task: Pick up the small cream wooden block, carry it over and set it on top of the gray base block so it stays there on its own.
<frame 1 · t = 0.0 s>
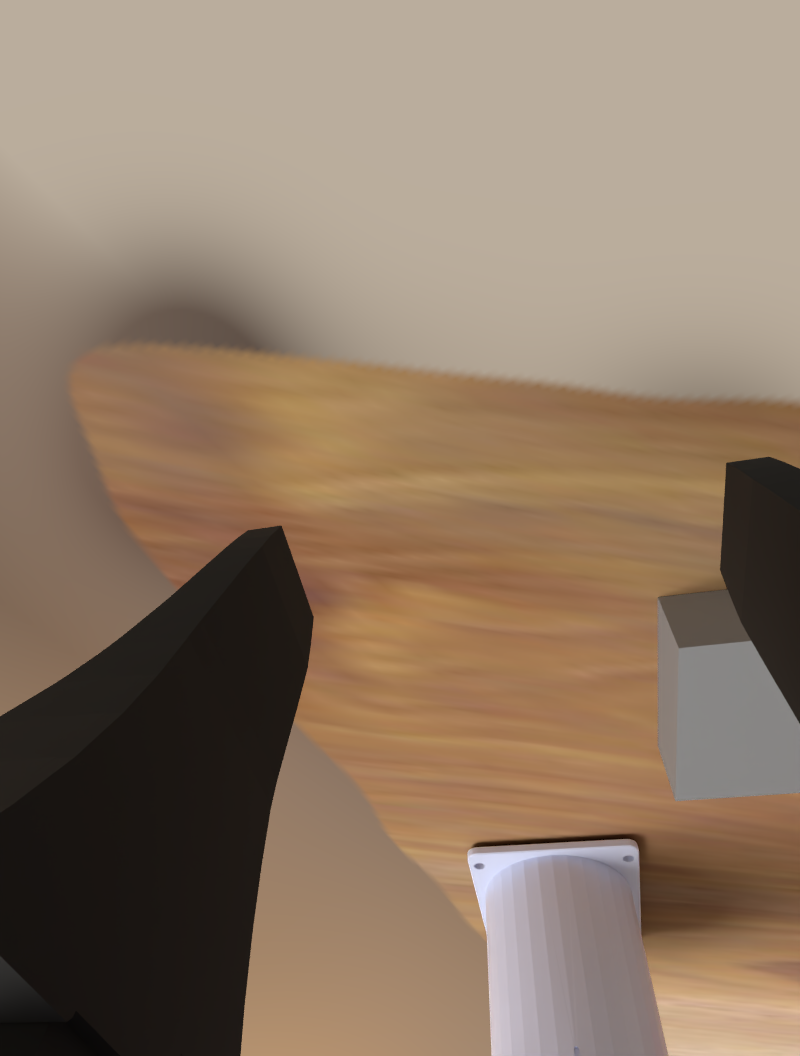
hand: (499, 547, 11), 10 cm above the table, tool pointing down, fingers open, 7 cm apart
gray base block: (763, 660, 26), on the table
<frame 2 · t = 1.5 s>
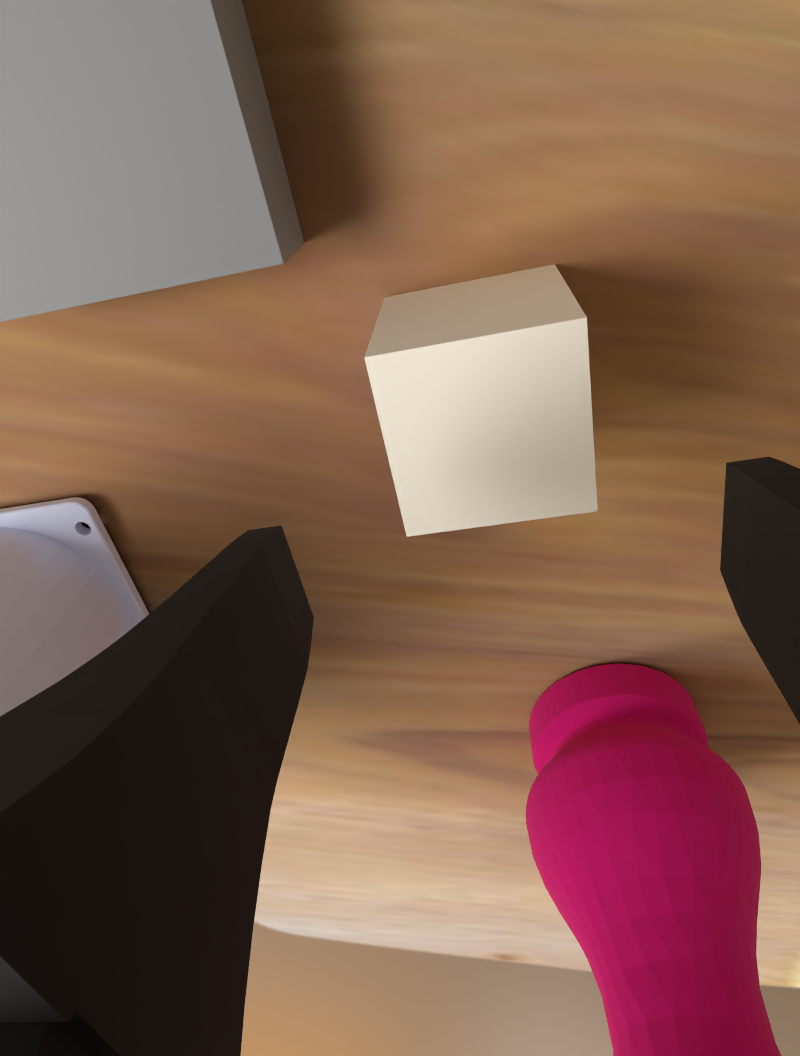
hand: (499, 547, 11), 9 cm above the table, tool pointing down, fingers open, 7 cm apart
pepper mill: (609, 716, 26), on the table
gray base block: (105, 99, 16), on the table
cream block: (479, 362, 19), on the table
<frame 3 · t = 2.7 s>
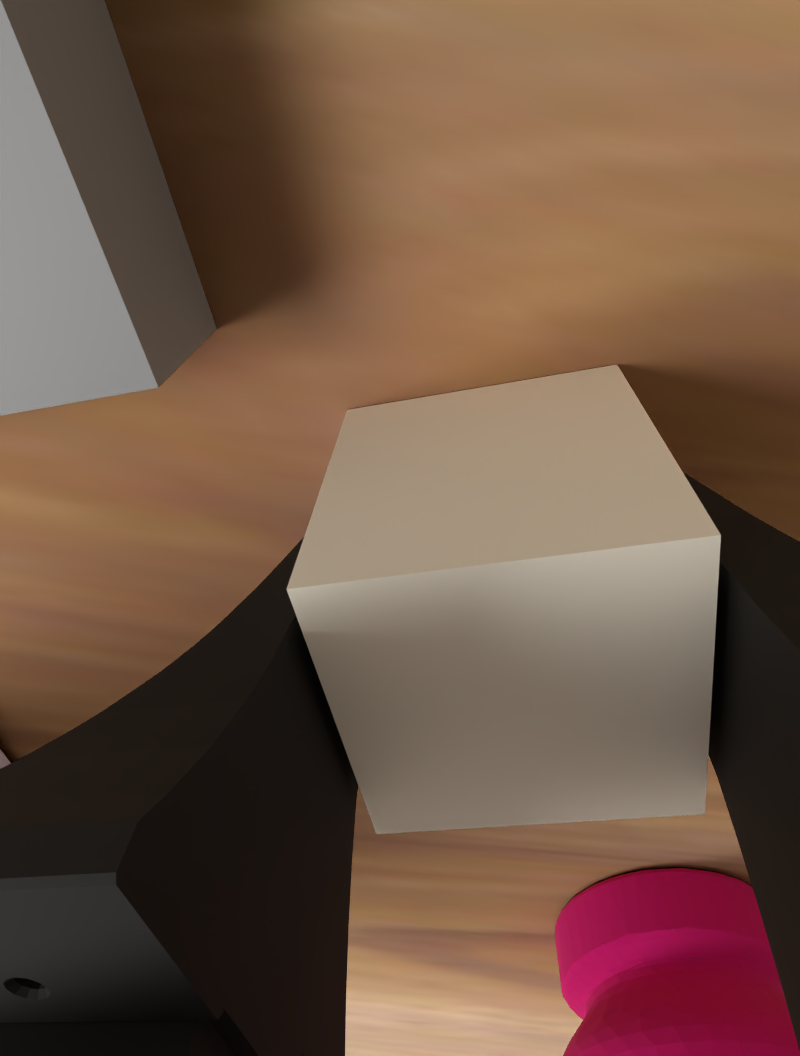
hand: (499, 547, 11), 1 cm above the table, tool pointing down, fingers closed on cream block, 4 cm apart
pepper mill: (661, 918, 20), on the table
cream block: (494, 503, 12), on the table, touching gripper
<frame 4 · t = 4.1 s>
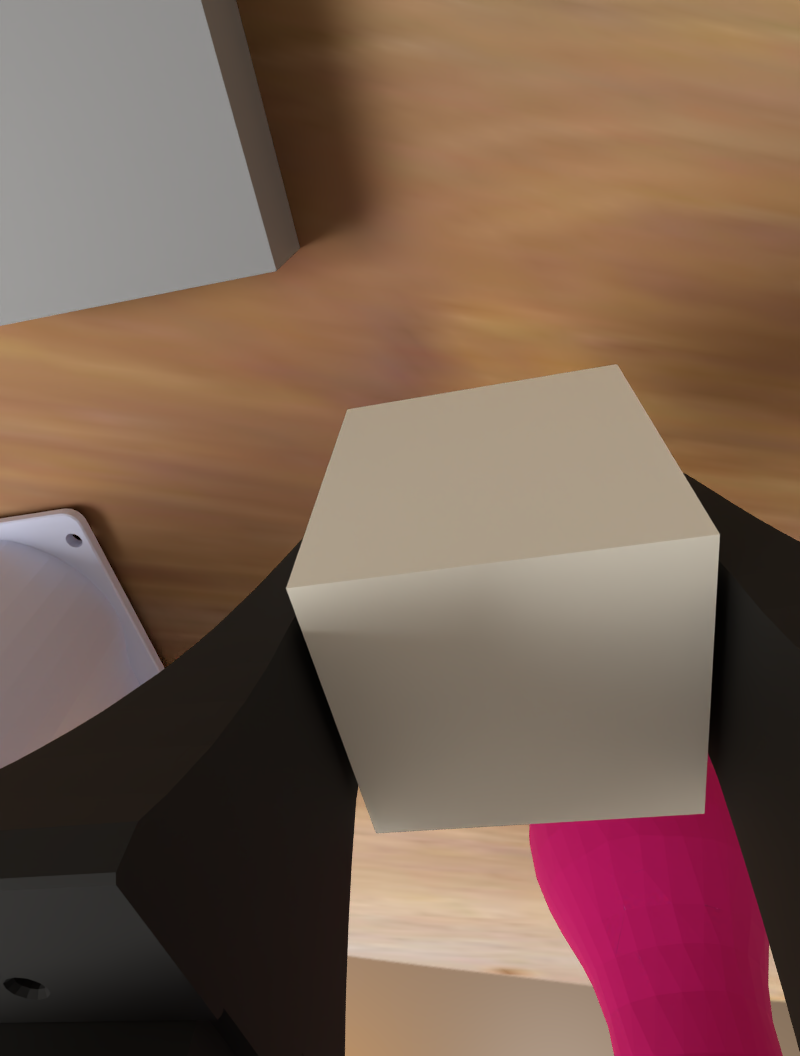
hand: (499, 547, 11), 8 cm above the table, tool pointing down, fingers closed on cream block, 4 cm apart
pepper mill: (614, 730, 26), on the table
gray base block: (93, 98, 16), on the table
cream block: (494, 502, 12), point 7 cm above the table, touching gripper
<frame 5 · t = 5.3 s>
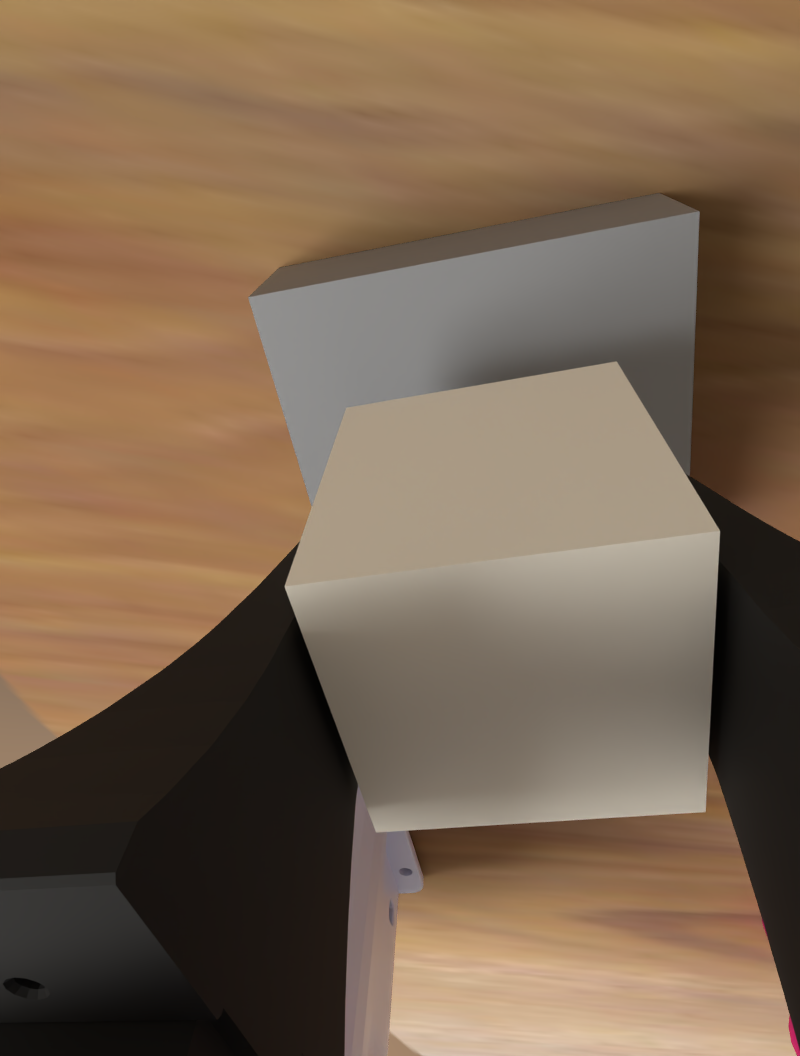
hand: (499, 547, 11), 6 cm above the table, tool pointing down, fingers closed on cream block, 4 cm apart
gray base block: (484, 402, 16), on the table
cream block: (494, 500, 12), point 4 cm above the table, touching gripper
when the fingers open (5 cm above the table, at t = 5.8 s): cream block drops 1 cm, resting on gray base block.
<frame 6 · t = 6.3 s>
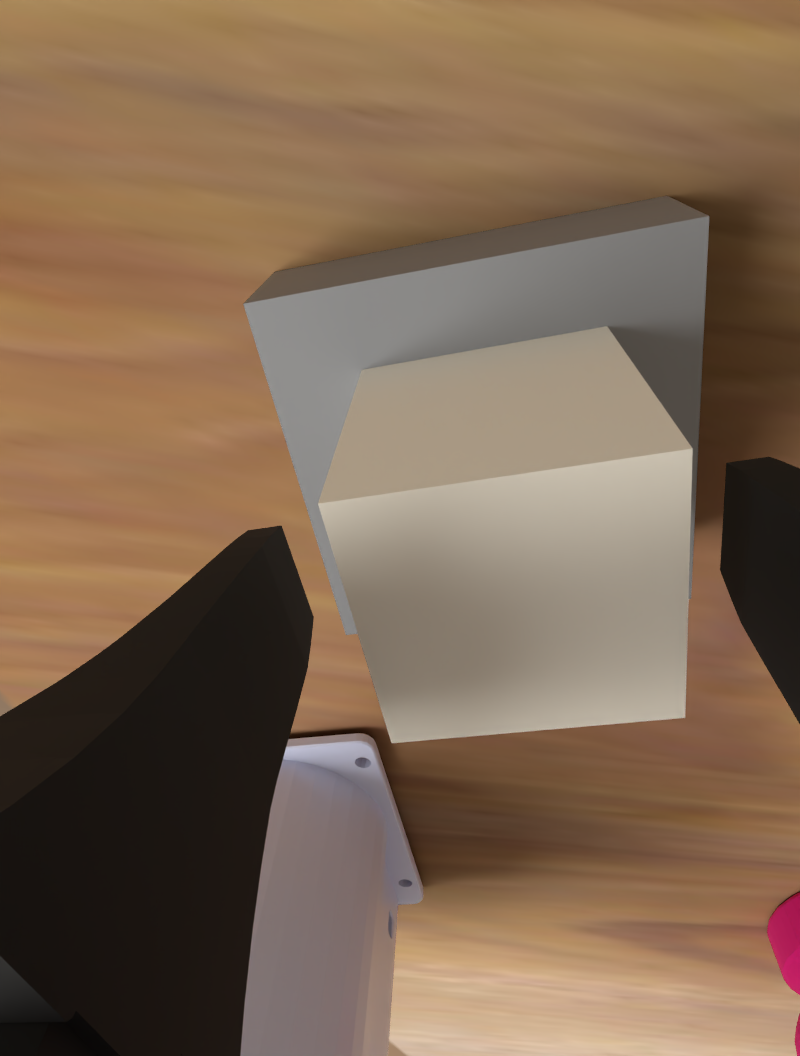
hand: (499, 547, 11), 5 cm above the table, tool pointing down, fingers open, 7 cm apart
gray base block: (485, 408, 16), on the table, touching cream block
cream block: (496, 457, 13), point 3 cm above the table, touching gray base block
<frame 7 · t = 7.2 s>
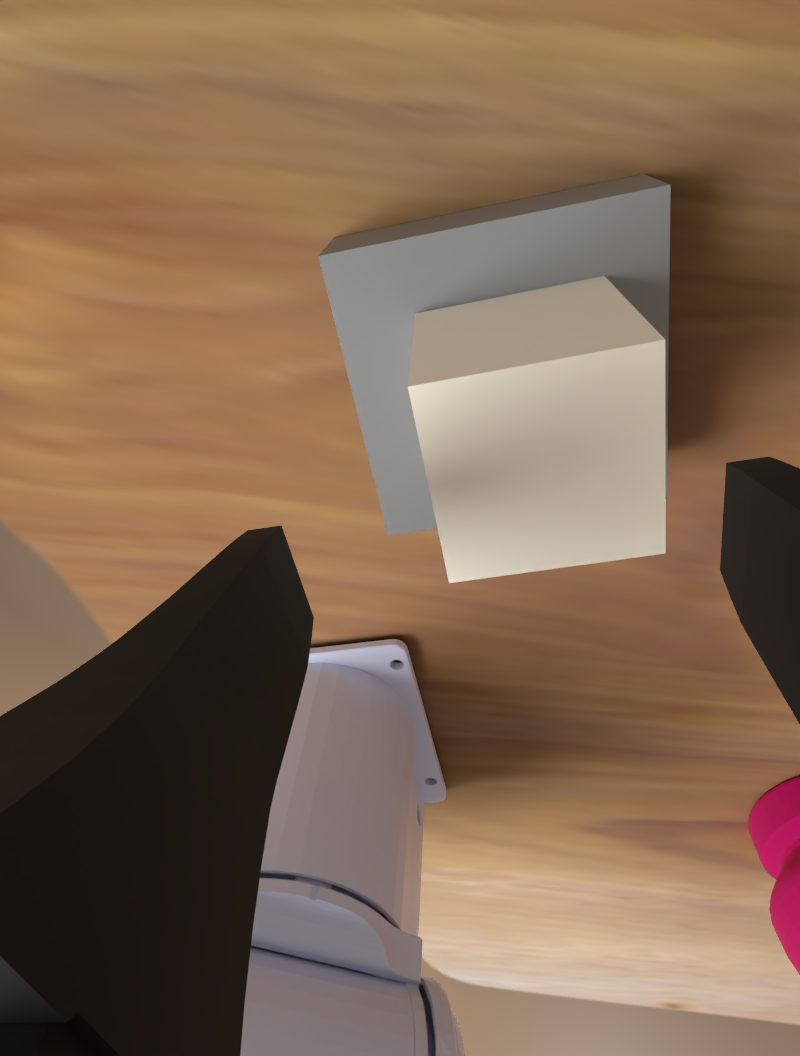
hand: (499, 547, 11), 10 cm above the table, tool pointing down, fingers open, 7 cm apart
gray base block: (500, 350, 20), on the table
cream block: (518, 383, 17), point 3 cm above the table
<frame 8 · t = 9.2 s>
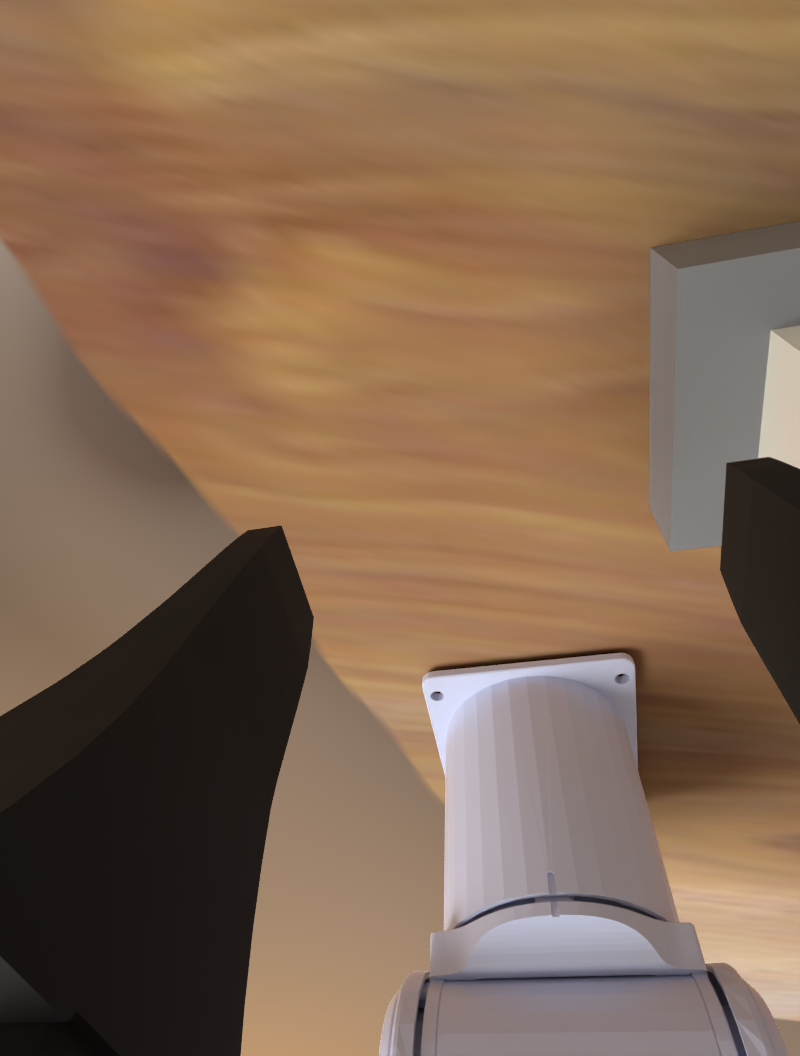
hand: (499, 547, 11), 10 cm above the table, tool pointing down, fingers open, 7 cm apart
gray base block: (789, 363, 19), on the table, touching cream block
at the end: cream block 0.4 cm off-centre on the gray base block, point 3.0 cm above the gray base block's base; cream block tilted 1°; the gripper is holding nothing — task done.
